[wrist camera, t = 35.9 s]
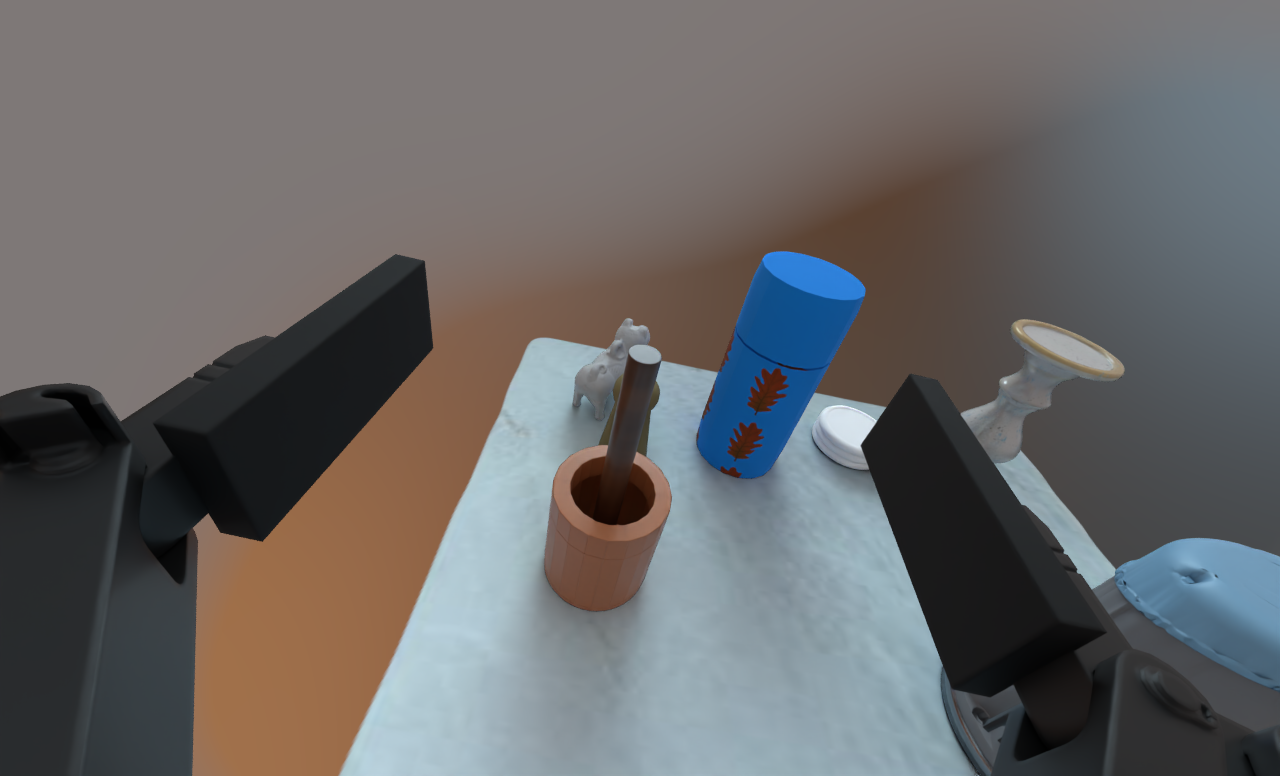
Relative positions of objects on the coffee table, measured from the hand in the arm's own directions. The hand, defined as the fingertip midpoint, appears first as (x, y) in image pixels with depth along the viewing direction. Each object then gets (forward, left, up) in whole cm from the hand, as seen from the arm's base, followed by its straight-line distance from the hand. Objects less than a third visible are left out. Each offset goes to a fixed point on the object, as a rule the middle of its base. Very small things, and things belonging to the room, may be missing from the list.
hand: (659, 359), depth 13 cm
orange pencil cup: (+9, -11, -34) cm, 37 cm away
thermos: (+11, -36, -34) cm, 51 cm away
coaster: (+2, -51, -34) cm, 61 cm away
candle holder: (-10, -54, -34) cm, 65 cm away
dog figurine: (+28, -28, -34) cm, 52 cm away
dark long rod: (+9, -11, -33) cm, 36 cm away
